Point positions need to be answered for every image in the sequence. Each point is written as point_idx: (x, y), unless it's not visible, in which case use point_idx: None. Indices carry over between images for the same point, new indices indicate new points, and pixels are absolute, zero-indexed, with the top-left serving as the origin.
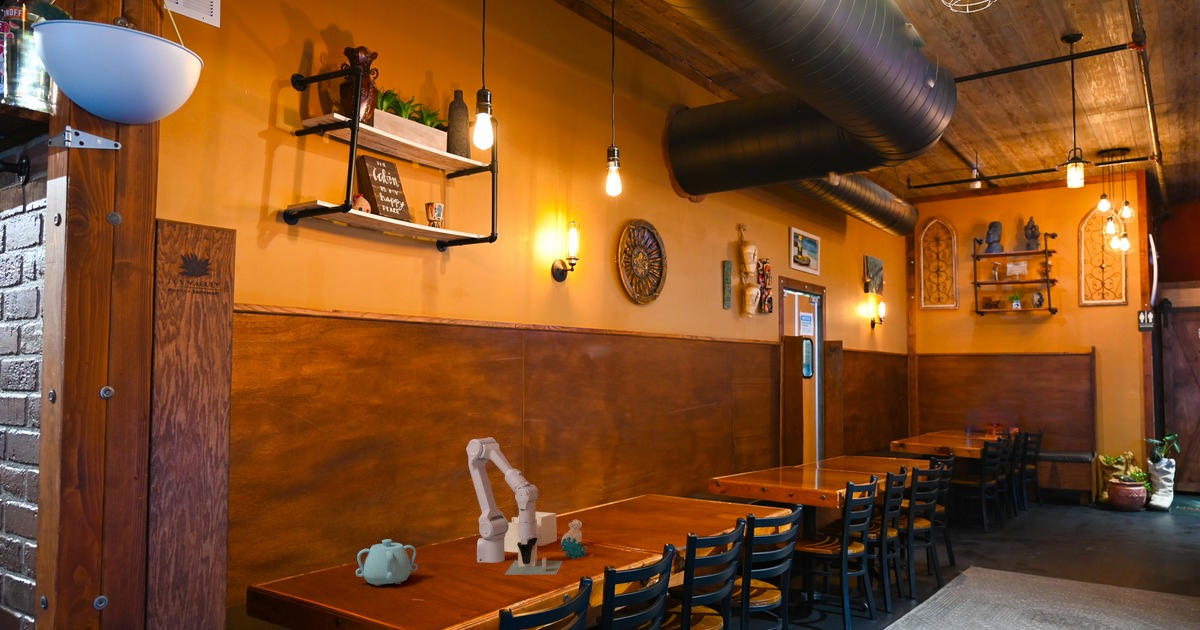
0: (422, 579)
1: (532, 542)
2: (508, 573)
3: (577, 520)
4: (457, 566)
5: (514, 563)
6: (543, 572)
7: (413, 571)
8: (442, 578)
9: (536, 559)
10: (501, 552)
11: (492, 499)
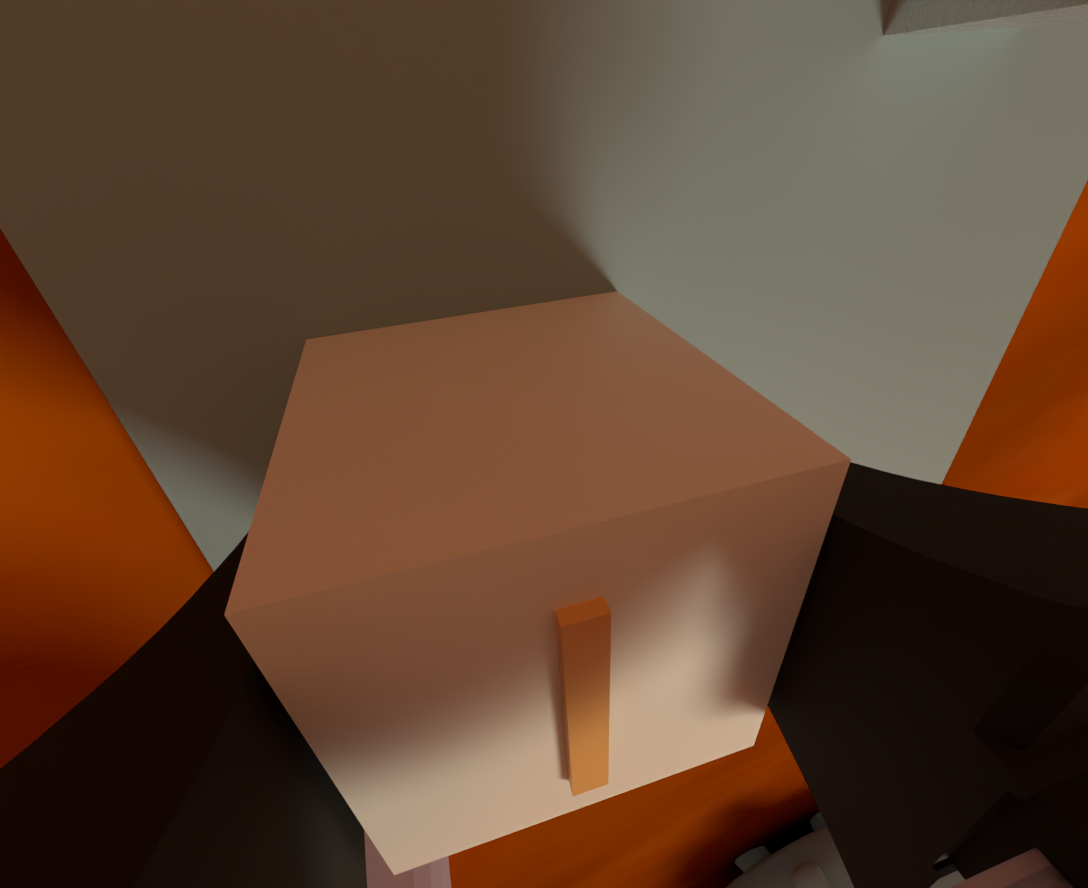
0: (780, 800)
1: (250, 865)
2: (913, 478)
3: None
4: (489, 862)
5: None
6: None
7: (810, 862)
8: (782, 760)
9: (389, 357)
10: (367, 876)
11: None
